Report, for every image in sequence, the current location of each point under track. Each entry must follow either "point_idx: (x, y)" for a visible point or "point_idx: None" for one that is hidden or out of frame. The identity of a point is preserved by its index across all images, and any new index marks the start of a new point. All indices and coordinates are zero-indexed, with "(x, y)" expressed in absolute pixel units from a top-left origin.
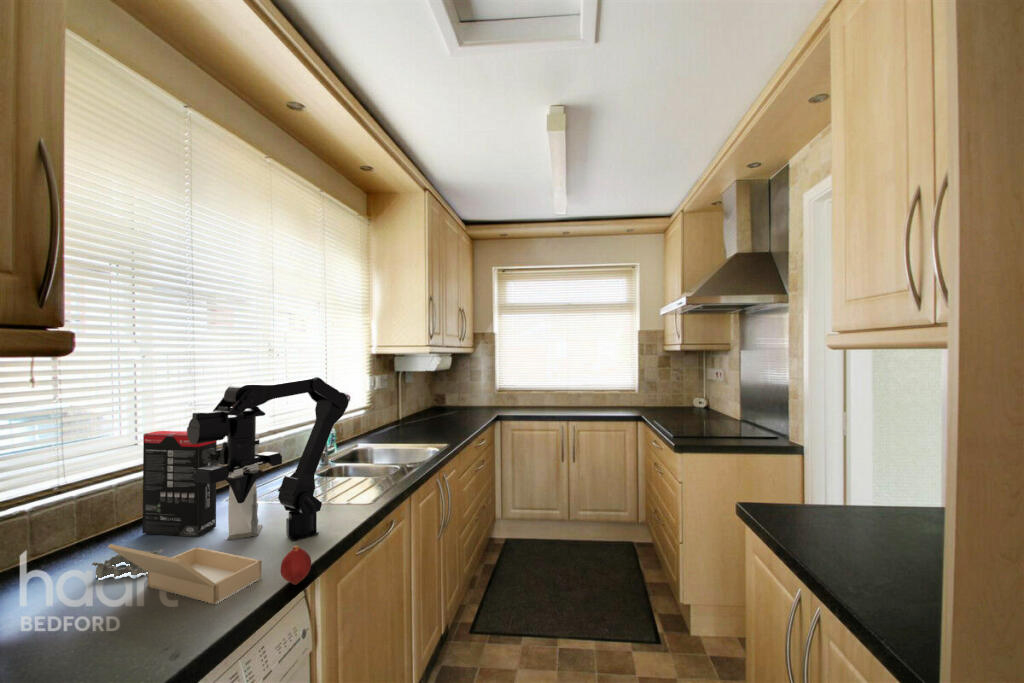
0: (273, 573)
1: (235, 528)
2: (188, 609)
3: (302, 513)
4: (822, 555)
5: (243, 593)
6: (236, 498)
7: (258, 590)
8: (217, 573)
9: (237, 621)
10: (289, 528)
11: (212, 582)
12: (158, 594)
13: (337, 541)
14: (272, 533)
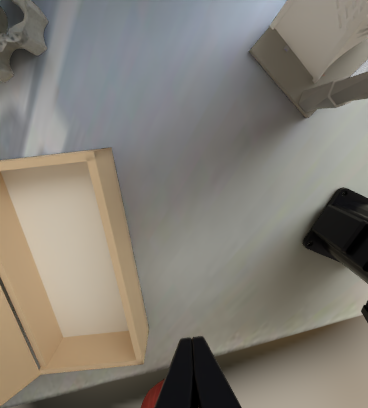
0: (173, 327)
1: (298, 25)
2: None
3: (366, 315)
4: None
5: None
6: (169, 374)
7: None
8: (108, 254)
9: (64, 390)
10: (327, 240)
11: (29, 382)
12: None
13: (327, 323)
14: (331, 144)
